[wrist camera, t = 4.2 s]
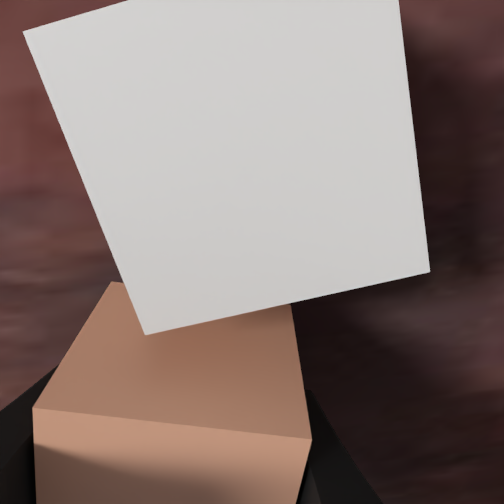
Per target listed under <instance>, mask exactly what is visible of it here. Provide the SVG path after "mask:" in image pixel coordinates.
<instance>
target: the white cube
mask: <svg viewBox="0 0 504 504" xmlns="http://www.w3.org/2000/svg"><path fill="white" fill-rule="evenodd" d="M23 34H24V36H25V39H26V41H27V44H28V46H29V49H30V51H31V54H32V56H33V59H34V61H35V63H36V66H37V68H38V71H39V73H40V76H41V78H42V81H43V83H44V86H45V88H46V91H47V93H48V96H49V98H50V101H51V103H52V106H53V108H54V111H55V113H56V116H57V118H58V121H59V123H60V126H61V128H62V130H63V133H64V135H65V138H66V140H67V143H68V145H69V148H70V150H71V153H72V155H73V158H74V160H75V163H76V165H77V168H78V170H79V173H80V175H81V178H82V180H83V183H84V185H85V188H86V190H87V193H88V195H89V197H90V200H91V202H92V205H93V207H94V210H95V212H96V215H97V217H98V220H99V222H100V225H101V227H102V230H103V232H104V235H105V237H106V240H107V242H108V245H109V247H110V250H111V252H112V255H113V257H114V260H115V262H116V264H117V267H118V269H119V272H120V274H121V277H122V279H123V282H124V284H125V287H126V289H127V292H128V294H129V297H130V299H131V302H132V304H133V307H134V309H135V312H136V314H137V317H138V319H139V322H140V324H141V327H142V329H143V331H144V334H145V335H149V334H153V333H158V332H162V331H167V330H171V329H176V328H180V327H185V326H189V325H194V324H198V323H203V322H207V321H212V320H216V319H221V318H225V317H230V316H234V315H239V314H243V313H248V312H252V311H257V310H261V309H266V308H270V307H275V306H279V305H284V304H288V303H293V302H298V301H302V300H307V299H311V298H316V297H320V296H325V295H329V294H334V293H338V292H343V291H347V290H352V289H356V288H361V287H365V286H370V285H374V284H379V283H383V282H388V281H392V280H397V279H401V278H406V277H410V276H415V275H419V274H424V273H428V272H430V266H429V257H428V249H427V240H426V232H425V223H424V215H423V206H422V198H421V189H420V181H419V172H418V164H417V155H416V147H415V138H414V129H413V121H412V112H411V104H410V95H409V87H408V78H407V70H406V61H405V53H404V44H403V36H402V27H401V19H400V10H399V1H398V0H128V1H125V2H121V3H118V4H114V5H111V6H108V7H104V8H101V9H98V10H94V11H91V12H87V13H84V14H81V15H77V16H74V17H70V18H67V19H64V20H60V21H57V22H54V23H50V24H47V25H43V26H40V27H37V28H33V29H30V30H27V31H23Z"/></svg>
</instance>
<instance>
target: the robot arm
mask: <svg viewBox="0 0 504 504" xmlns="http://www.w3.org/2000/svg"><path fill="white" fill-rule="evenodd" d="M59 365H60V364H59ZM59 365H58V366H59ZM58 366H56V367H55V368H54V369H53V370H51V371H50V372H49V373H48V374H46V375H45V376H44V377H43V378H42V379H40V380H39V381H38V382H37V383H35V384H34V385H33V386H32V387H30V388H29V389H28V390H27V391H25V392H24V393H23V394H22V395H20V396H19V397H18V398H17V399H15V400H14V401H13V402H11V403H10V404H9V405H8V406H6V407H5V408H4V409H2V410H1V411H0V504H36V481H35V458H34V434H33V410H32V408H33V406H34V404H35V403H36V401H37V400H38V398H39V396H40V395H41V393H42V392H43V390H44V389H45V387H46V385H47V384H48V382H49V381H50V379H51V377H52V376H53V374H54V373H55V371H56V369H57V368H58ZM304 392H305V398H306V405H307V411H308V417H309V424H310V430H311V436H312V442H311V446H310V449H309V453H308V457H307V461H306V465H305V469H304V473H303V477H302V481H301V484H300V488H299V492H298V496H297V500H296V504H383V503H382V501H381V500H380V499H379V497H378V496H377V494H376V493H375V492H374V490H373V489H372V488H371V486H370V485H369V483H368V482H367V481H366V479H365V478H364V476H363V475H362V473H361V472H360V470H359V469H358V468H357V466H356V464H355V463H354V461H353V460H352V458H351V457H350V455H349V454H348V452H347V451H346V449H345V447H344V446H343V444H342V443H341V441H340V439H339V438H338V436H337V435H336V433H335V431H334V429H333V428H332V426H331V424H330V423H329V421H328V419H327V417H326V416H325V414H324V412H323V410H322V409H321V407H320V405H319V403H318V401H317V399H316V398H315V396H314V394H313V393H312V392H311V390H304Z"/></svg>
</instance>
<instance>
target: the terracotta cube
mask: <svg viewBox="0 0 504 504" xmlns="http://www.w3.org/2000/svg"><path fill="white" fill-rule="evenodd" d="M32 410H33V434H34V458H35V481H36V504H296V500H297V496H298V492H299V488H300V484H301V481H302V477H303V473H304V469H305V465H306V461H307V457H308V453H309V449H310V446H311V442H312V436H311V430H310V424H309V417H308V411H307V405H306V398H305V392H304V386H303V380H302V373H301V367H300V361H299V354H298V348H297V342H296V336H295V329H294V323H293V317H292V310H291V305H288V304H284V305H279V306H275V307H270V308H266V309H261V310H257V311H252V312H248V313H243V314H239V315H234V316H230V317H225V318H221V319H216V320H212V321H207V322H203V323H198V324H194V325H189V326H185V327H180V328H176V329H171V330H167V331H162V332H158V333H153V334H149V335H145V334H144V331H143V329H142V327H141V324H140V322H139V319H138V317H137V314H136V312H135V309H134V307H133V304H132V302H131V299H130V297H129V294H128V292H127V289H126V287H125V284H124V283H119V282H111V283H110V285H109V286H108V288H107V289H106V291H105V293H104V294H103V296H102V297H101V299H100V301H99V302H98V304H97V305H96V307H95V309H94V310H93V312H92V313H91V315H90V317H89V318H88V320H87V321H86V323H85V325H84V326H83V328H82V329H81V331H80V333H79V334H78V336H77V337H76V339H75V341H74V342H73V344H72V345H71V347H70V349H69V350H68V352H67V353H66V355H65V357H64V358H63V360H62V361H61V363H60V365H59V366H58V368H57V369H56V371H55V373H54V374H53V376H52V377H51V379H50V381H49V382H48V384H47V385H46V387H45V389H44V390H43V392H42V393H41V395H40V396H39V398H38V400H37V401H36V403H35V404H34V406H33V408H32Z"/></svg>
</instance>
